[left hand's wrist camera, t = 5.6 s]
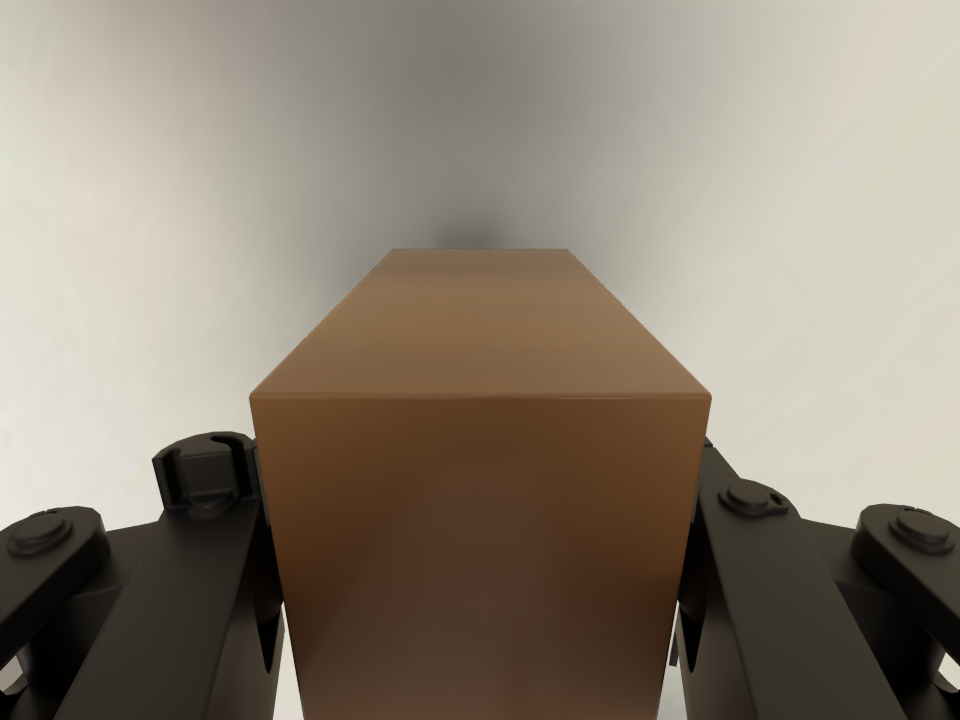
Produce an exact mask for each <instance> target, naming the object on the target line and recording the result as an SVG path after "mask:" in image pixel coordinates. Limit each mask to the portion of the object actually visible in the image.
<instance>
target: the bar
mask: <svg viewBox="0 0 960 720" xmlns="http://www.w3.org/2000/svg"><path fill="white" fill-rule="evenodd" d="M711 400H712V396H711V393H710V392H709V391H708V390H707V389H706V388H705V387H704V386H703V385H702V384H701V383H700V382H699V381H698V380H697V379H696V378H695V377H694V376H693V375H692V374H691V373H690V372H689V371H688V370H687V369H686V368H685V367H684V366H683V365H682V364H681V363H680V362H679V361H678V360H677V359H676V358H675V357H674V356H673V355H672V354H671V353H670V352H669V351H668V350H667V349H666V348H665V347H664V346H663V345H662V344H661V343H660V342H659V341H658V340H657V339H656V338H655V337H654V336H653V335H652V334H651V333H650V332H649V331H648V330H647V329H646V328H645V327H644V326H643V325H642V324H641V323H640V322H639V321H638V320H637V319H636V318H635V317H634V316H633V315H632V314H631V313H630V312H629V311H628V310H627V309H626V308H625V307H624V306H623V305H622V304H621V303H620V302H619V301H618V300H617V299H616V298H615V297H614V296H613V295H612V294H611V293H610V292H609V291H608V290H607V288H606V287H605V286H604V285H603V284H602V283H601V282H600V281H599V280H598V279H597V278H596V277H595V276H594V275H593V274H592V273H591V272H590V271H589V270H588V269H587V268H586V267H585V266H584V265H583V264H582V263H581V262H580V261H579V260H578V259H577V258H576V257H575V256H574V255H573V254H572V253H571V252H570V251H569V250H568V249H393V250H391V251H390V252H389V253H388V254H387V255H386V257H385V258H384V259H383V260H382V261H381V262H380V263H379V264H378V265H377V266H376V267H375V268H374V269H373V270H372V271H371V272H370V273H369V274H368V275H367V276H366V277H365V278H364V279H363V280H362V281H361V282H360V283H359V284H358V285H357V286H356V287H355V288H354V289H353V290H352V291H351V292H350V293H349V294H348V295H347V296H346V297H345V298H344V299H343V300H342V301H341V302H340V303H339V304H338V305H337V306H336V307H335V308H334V309H333V310H332V311H331V312H330V313H329V314H328V315H327V316H326V317H325V318H324V319H323V320H322V321H321V322H320V323H319V324H318V325H317V326H316V327H315V328H314V329H313V330H312V331H311V332H310V334H309V335H308V336H307V337H306V338H305V339H304V340H303V341H302V342H301V343H300V344H299V345H298V346H297V347H296V348H295V349H294V350H293V351H292V352H291V353H290V354H289V355H288V356H287V357H286V358H285V359H284V360H283V361H282V362H281V363H280V364H279V365H278V366H277V367H276V368H275V369H274V370H273V371H272V372H271V373H270V374H269V375H268V376H267V377H266V378H265V379H264V380H263V381H262V382H261V383H260V384H259V385H258V386H257V387H256V388H255V389H254V390H253V391H252V392H251V393H250V396H249V401H250V407H251V412H252V418H253V424H254V430H255V436H256V442H257V448H258V453H259V459H260V465H261V471H262V477H263V483H264V489H265V494H266V500H267V506H268V512H269V518H270V524H271V530H272V535H273V541H274V547H275V553H276V559H277V565H278V571H279V576H280V582H281V588H282V594H283V600H284V606H285V611H286V617H287V623H288V629H289V635H290V641H291V647H292V652H293V658H294V664H295V670H296V676H297V682H298V688H299V693H300V699H301V705H302V711H303V717H304V720H657V715H658V709H659V703H660V697H661V691H662V686H663V680H664V674H665V668H666V662H667V656H668V651H669V645H670V639H671V633H672V627H673V621H674V616H675V610H676V604H677V598H678V592H679V587H680V581H681V575H682V569H683V563H684V557H685V552H686V546H687V540H688V534H689V528H690V522H691V517H692V511H693V505H694V499H695V493H696V488H697V482H698V476H699V470H700V464H701V458H702V453H703V447H704V441H705V435H706V429H707V423H708V418H709V412H710V406H711Z"/></svg>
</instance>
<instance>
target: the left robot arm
mask: <svg viewBox="0 0 960 720" xmlns="http://www.w3.org/2000/svg"><path fill="white" fill-rule="evenodd" d="M152 463H153V467H154V471H155V475H156V479H157V482H158V486H159V490H160V494H161V498H162V502H163V506H164V511H163V512H162V514H161V516H160V518H159V520H158V521H156V522H152V523H148V524H143V525H138V526H133V527H127V528H122V529H117V530H112V531H107V532H106V531H105V528H104V525H103V522H102V518H101V515H100V514H99V513H98V512H97V511H95V510H94V509H93V508H88V507H81V506H73V507H63V508H53V509H48V510H47V511H41V512H38V513H35V514H32V515H30V516H29V517H27V518H25V519H23V520H20V521H18V522H16V523H13V524H11V525H10V526H8V527H7V528H5V529H3V530H2V531H0V671H1V670H2V669H3V668H4V667H5V666H6V665H7V663H8V662H9V661H10V660H11V659H12V658H13V657H14V656H15V655H16V656H17V659H18V661H19V664H20V666H21V668H22V671H23V674H22V675H21V676H20V677H19V678H18V679H17V680H16V681H15V682H14V683H13V684H12V685H11V686H10V687H9V688H7V689H6V690H5V691H3V692H2V691H1V690H0V720H273V713H274V706H275V699H276V691H277V684H278V676H279V669H280V662H281V654H282V647H283V639H284V632H285V627H284V620H283V613H282V608H281V605H282V603H283V601H284V600H283V594H282V588H281V582H280V576H279V571H278V565H277V559H276V553H275V547H274V541H273V535H272V530H271V524H270V518H269V512H268V506H267V500H266V494H265V489H264V483H263V477H262V471H261V465H260V459H259V453H258V448H257V442H256V438H254V440H253V441H252V439H250V438H249V437H248V436H246V435H245V434H241V433H236V432H231V431H229V432H210V433H204V434H199V435H194V436H191V437H188V438H185V439H182V440H179V441H177V442H175V443H173V444H171V445H169V446H168V447H166V448H164V449H162V450H161V451H160V452H159V453H158V454H157V455H156V456H155V457H153V458H152ZM677 599H678V602H679V608H678V613H677V619H676V625H675V631H674V636H673V642H672V648H671V654H670V661H669V665H670V666H675V667H676V666H677V660H678V655H679V660H680V668H681V675H682V683H683V690H684V697H685V705H686V712H687V719H688V720H960V690H958V689H956V688H955V687H954V686H953V685H952V684H950V683H949V682H948V681H947V680H946V679H945V678H944V676H943V675H942V674H941V673H940V672H939V671H938V669H939V667H940V665H941V662H942V660H943V658H944V655H945V653H947V654H948V655H949V656H950V657H951V658H952V659H953V660H954V661H955V662H956V663H957V664H958V665H959V666H960V528H959V527H957V526H956V525H954V524H953V523H951V522H949V521H947V520H945V519H942V518H940V517H938V516H935V515H933V514H932V513H930V512H928V511H925V510H922V509H919V508H917V509H915V508H914V507H911V506H906V505H893V504H877V505H871V506H868V507H867V508H865V509H864V510H863V511H862V512H861V513H860V517H859V520H858V523H857V526H856V529H851V528H846V527H841V526H835V525H830V524H825V523H820V522H815V521H810V520H806V519H802V518H801V517H800V515H799V513H798V511H797V510H796V508H795V507H794V506H793V504H792V503H791V502H790V501H789V500H788V499H787V498H786V497H785V496H783V495H782V494H780V493H779V492H777V491H776V490H774V489H773V488H770V487H768V486H765V485H763V484H760V483H758V482H755V481H751V480H746V479H742V478H740V477H739V476H738V475H737V474H736V472H735V471H734V470H733V469H732V467H731V466H730V465H729V464H728V463H727V461H726V460H725V459H724V458H723V456H722V455H721V454H720V453H719V452H718V450H717V449H716V448H713V444H712V443H711V442H710V441H709V439H708V438H707V437H706V436H705V441H704V447H703V453H702V458H701V464H700V470H699V476H698V482H697V488H696V493H695V499H694V505H693V511H692V517H691V522H690V528H689V534H688V540H687V546H686V552H685V557H684V563H683V569H682V575H681V581H680V587H679V592H678V598H677Z"/></svg>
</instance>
